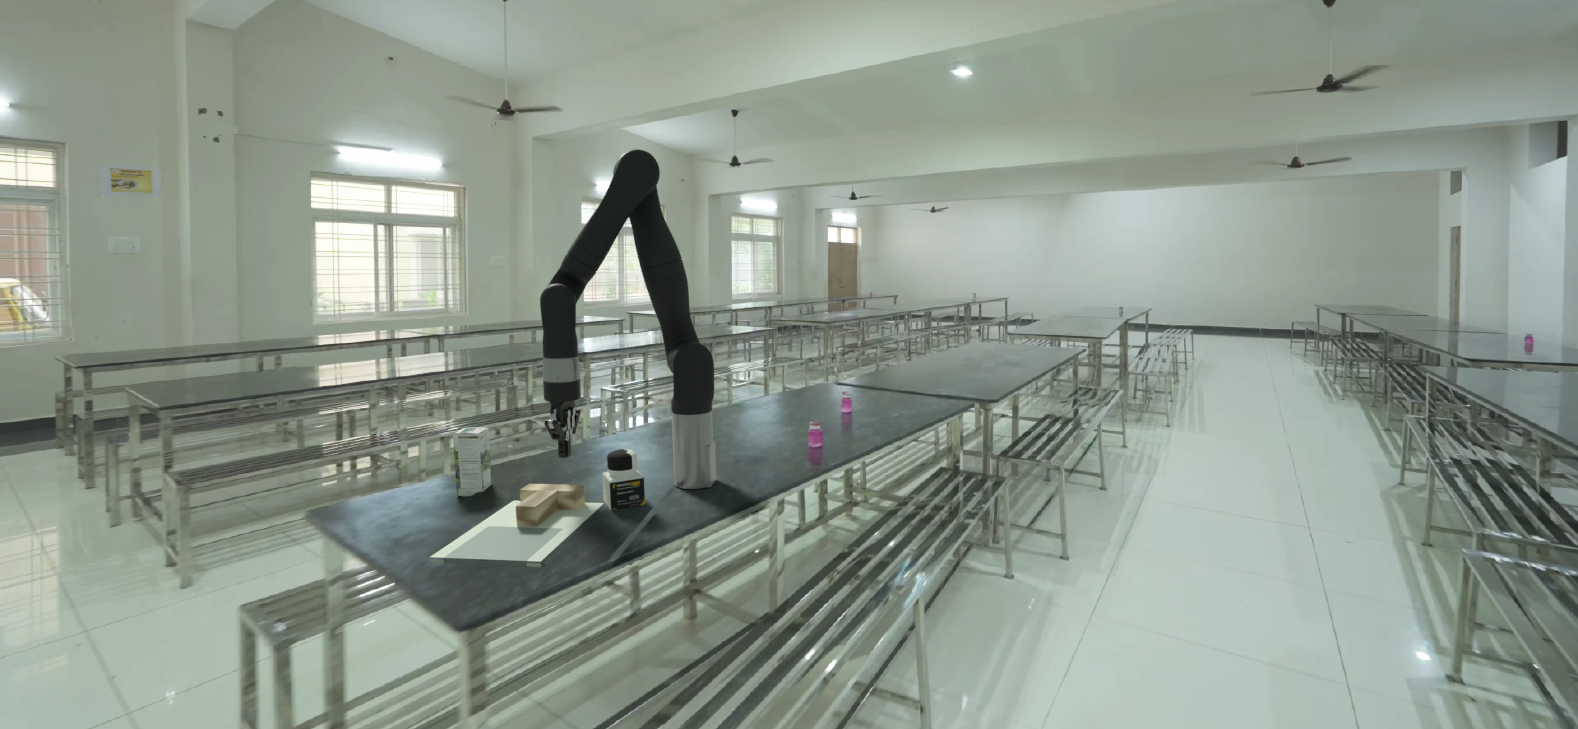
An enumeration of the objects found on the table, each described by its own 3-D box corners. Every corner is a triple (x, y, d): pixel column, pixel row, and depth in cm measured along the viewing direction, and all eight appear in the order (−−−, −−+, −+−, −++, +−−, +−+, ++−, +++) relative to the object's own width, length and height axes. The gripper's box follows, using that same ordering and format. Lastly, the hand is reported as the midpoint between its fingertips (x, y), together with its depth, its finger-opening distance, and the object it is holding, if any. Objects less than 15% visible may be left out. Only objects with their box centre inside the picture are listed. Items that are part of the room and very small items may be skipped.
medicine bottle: (611, 515, 135) (608, 458, 134) (603, 504, 142) (600, 449, 140) (645, 509, 139) (643, 453, 137) (636, 498, 145) (634, 445, 143)
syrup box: (466, 488, 153) (461, 427, 151) (493, 487, 153) (488, 426, 151) (456, 497, 147) (451, 433, 145) (484, 496, 148) (479, 432, 145)
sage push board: (604, 507, 140) (604, 503, 139) (541, 567, 112) (540, 561, 112) (514, 504, 142) (513, 500, 142) (430, 562, 114) (429, 557, 114)
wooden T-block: (584, 503, 139) (583, 485, 139) (556, 527, 127) (555, 507, 126) (530, 501, 141) (529, 483, 140) (497, 525, 128) (495, 505, 127)
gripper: (564, 383, 135) (568, 466, 137) (591, 373, 148) (593, 449, 150) (529, 382, 136) (533, 464, 138) (558, 372, 149) (561, 448, 151)
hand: (565, 456), depth 144 cm, fingers closed
